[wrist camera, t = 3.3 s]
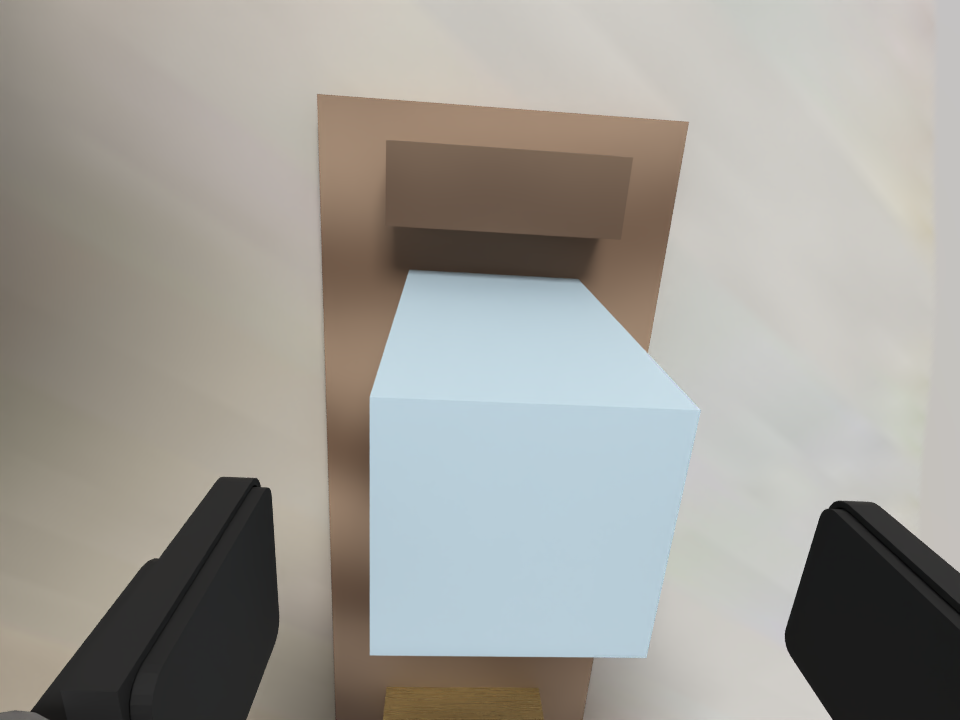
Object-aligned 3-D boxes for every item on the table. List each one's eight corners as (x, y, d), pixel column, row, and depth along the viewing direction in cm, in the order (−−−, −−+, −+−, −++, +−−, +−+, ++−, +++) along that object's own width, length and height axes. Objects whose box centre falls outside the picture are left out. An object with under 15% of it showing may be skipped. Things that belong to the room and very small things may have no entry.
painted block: (409, 269, 17) (370, 397, 8) (578, 279, 17) (700, 410, 9) (405, 423, 19) (369, 654, 10) (559, 428, 19) (646, 657, 11)
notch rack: (324, 96, 16) (298, 87, 13) (675, 123, 17) (720, 119, 14) (344, 867, 28) (332, 948, 25) (549, 863, 29) (559, 942, 26)
